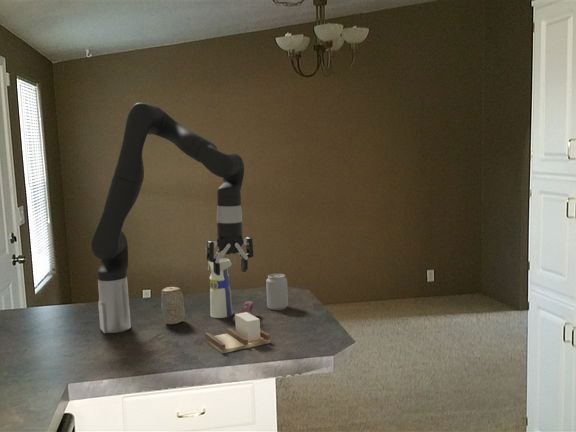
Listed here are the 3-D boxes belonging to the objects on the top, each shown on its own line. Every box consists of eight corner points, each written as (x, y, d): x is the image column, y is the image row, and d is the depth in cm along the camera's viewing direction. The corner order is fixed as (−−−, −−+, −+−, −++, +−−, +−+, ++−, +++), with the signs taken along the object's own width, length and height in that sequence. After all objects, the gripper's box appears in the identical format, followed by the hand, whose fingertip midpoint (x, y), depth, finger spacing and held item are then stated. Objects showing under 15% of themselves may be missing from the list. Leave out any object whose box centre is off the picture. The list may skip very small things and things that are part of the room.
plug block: (235, 333, 182) (235, 314, 181) (247, 330, 183) (246, 311, 183) (248, 341, 174) (247, 321, 173) (260, 338, 176) (259, 319, 175)
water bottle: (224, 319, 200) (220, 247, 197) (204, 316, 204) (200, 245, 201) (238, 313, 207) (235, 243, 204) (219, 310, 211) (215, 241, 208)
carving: (161, 321, 200) (159, 287, 199) (183, 318, 203) (181, 284, 201) (163, 327, 194) (161, 291, 193) (186, 324, 197) (184, 289, 195)
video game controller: (243, 327, 196) (251, 309, 194) (231, 321, 196) (239, 303, 195) (250, 318, 205) (258, 301, 204) (239, 312, 206) (247, 295, 204)
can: (265, 306, 214) (263, 274, 213) (284, 303, 216) (283, 271, 215) (270, 311, 207) (269, 278, 205) (290, 309, 209) (289, 276, 208)
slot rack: (221, 353, 168) (221, 345, 167) (205, 340, 179) (204, 333, 179) (270, 342, 175) (270, 334, 175) (251, 331, 186) (251, 323, 186)
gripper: (246, 217, 183) (247, 268, 185) (202, 220, 177) (204, 273, 179) (256, 220, 177) (257, 272, 179) (211, 223, 170) (213, 278, 172)
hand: (230, 273), depth 179 cm, fingers open, 8 cm apart
